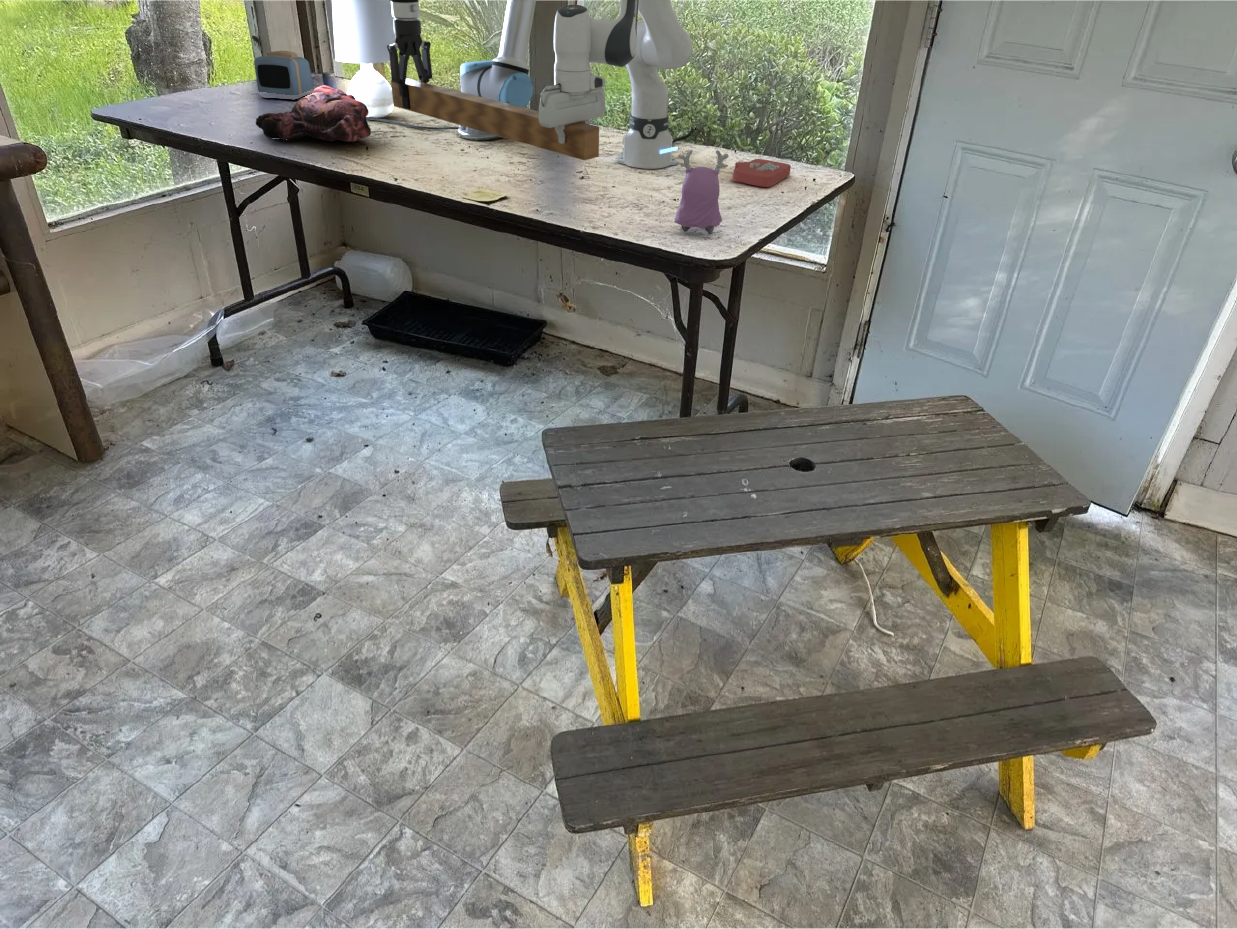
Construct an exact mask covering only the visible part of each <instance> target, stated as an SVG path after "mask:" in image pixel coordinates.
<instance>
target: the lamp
mask: <svg viewBox="0 0 1237 929" xmlns="http://www.w3.org/2000/svg"><path fill="white" fill-rule="evenodd" d="M324 3H325V9H326V18H327V23H328V30H329V37H330V45H331V51H332V58H333V60H334V61H336V62H341V63H348V64H360V70H358V71H357V72H356V74H354V76H353V77H352V79H351V80H350V82H349V84H348V87H347V92H346V94H348V95H349V94H352V95H353V96H354V97H355V99H356V100H358V101H360V102H362V103H364V104H365V105H366V107H367V109H368V110H369V114H368V116H366V117H370V118H379V119H383V118H385V117H387V116H389V115H390V114H391V113H392V111H393V110H394V107H395V106H394V105H393V96H392V87H391V84H390V83H389V82H388V81H386V80H387V79H386V80H385V79H384V78H383V77H382V76H381V75H380V74H379V73H378V72H376V71H375V70H374V69H373V65H372V63H385V62H389V63H390V56H389V52H388V49H387V45H392V44H393V43H395V39H396V36H395V33H394V26H393V21H394V17H393V16H392V8H391V0H324Z"/></svg>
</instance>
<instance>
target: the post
mask: <svg viewBox="0 0 1237 929" xmlns="http://www.w3.org/2000/svg"><path fill="white" fill-rule="evenodd" d="M419 81H420V80H416V79H411V78H407V77H406V85H408V88H409V98H410V108H411V109H405V108H403V104H402V97H401V96H400V94H399V85H398V84H397V83H394V82H392V79H390V87H391V89H392V96H393V105H394V107H395V108H398V109H402V110H406V111H409V112H413V113H415V114H416V113H417V114H420V115H424V116H427V117H431V118H434V119H437V120H440V121H445V122H448V123H452V124H455V125H458V126H460V125H462V126H465V127H469V128H472V129H476V130H479V131H483V132H486V133H490V134H493V135H497V136H500V137H501V138H504V139H508V140H512V141H515V142H518V143H522V144H526V145H529V146H533V147H535V148H539V149H543V150H546V151H550V152H553V153H557V154H561V155H564V156H567V157H570V158H573V159H578V160H581V161H588V160H592V159H596V158H599V157H600V126H598V125H594V124H590V123H589V124H586V123H583V122H576V123H571V124H567V125H565V129H564V130H563V132H564V134H565V135H566V136H567V143H564V144H561V143H559V141H558V134H557V132H556V130H555V127H553V128H547V127H543V126H541V125H540V123H539V110H535V109H531V108H526V107H524V108H523V107H519V106H515V105H511V104H507V103H503V102H499V101H495V100H491V99H487V98H483V97H479V96H475V95H471V94H467V93H463V92H461V91H459V90H456V89H455V90H454V89H452V88H447V87H443V86H439V85H435V84H431V83H423V82H421V81H420V82H419Z"/></svg>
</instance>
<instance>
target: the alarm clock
mask: <svg viewBox="0 0 1237 929" xmlns="http://www.w3.org/2000/svg"><path fill="white" fill-rule="evenodd" d="M253 65H254V72H255V77H256V78H255V79H256V86H257V92H258V91H259V92H267V93H276V94H285V95H299V94H302V93H304V92H307V91H309V90H311V89H315V85H314V81H313V76H312V72H311V67H310V62H309V60H307V59H306V58H305V57H302V56H299V55H298V53H296V52H293V51H289V50H275V51H269V52H266V55H261V56H257V57H256V58H254V60H253Z"/></svg>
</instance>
